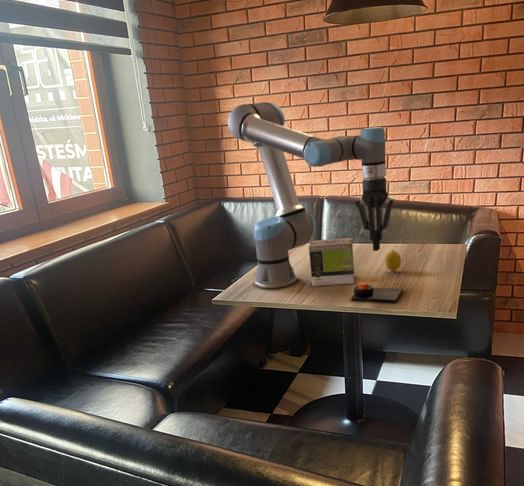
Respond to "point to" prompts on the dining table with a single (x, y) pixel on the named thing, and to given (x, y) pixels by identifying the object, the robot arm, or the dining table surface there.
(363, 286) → the button
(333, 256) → the tea box
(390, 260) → the lemon
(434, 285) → the dining table surface
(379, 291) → the scale
